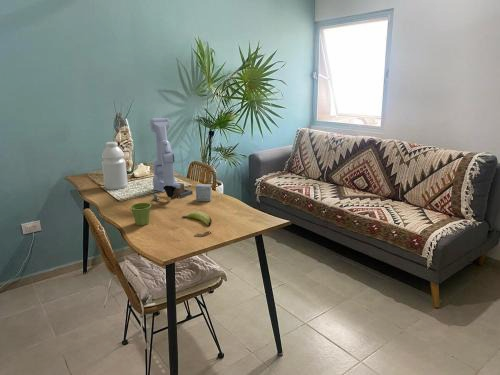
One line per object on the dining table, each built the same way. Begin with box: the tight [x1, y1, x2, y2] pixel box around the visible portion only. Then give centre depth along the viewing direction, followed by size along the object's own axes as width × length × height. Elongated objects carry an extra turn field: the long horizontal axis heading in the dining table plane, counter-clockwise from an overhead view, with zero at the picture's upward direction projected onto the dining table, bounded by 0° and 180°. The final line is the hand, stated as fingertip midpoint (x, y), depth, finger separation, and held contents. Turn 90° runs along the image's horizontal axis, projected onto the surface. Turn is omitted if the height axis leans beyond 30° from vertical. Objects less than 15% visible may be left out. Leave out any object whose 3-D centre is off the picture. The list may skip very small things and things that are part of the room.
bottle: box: [100, 141, 129, 191], centre depth 228 cm, size 14×14×28 cm
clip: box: [153, 193, 172, 202], centre depth 205 cm, size 12×2×2 cm, turn 56°
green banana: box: [181, 209, 213, 238], centre depth 177 cm, size 35×27×4 cm
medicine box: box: [195, 183, 213, 202], centre depth 206 cm, size 8×4×9 cm, turn 84°
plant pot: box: [129, 202, 152, 226], centre depth 173 cm, size 9×9×9 cm
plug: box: [174, 182, 185, 198], centre depth 214 cm, size 4×4×7 cm
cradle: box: [173, 188, 194, 199], centre depth 216 cm, size 8×10×2 cm
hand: (170, 198), depth 205 cm, fingers closed
